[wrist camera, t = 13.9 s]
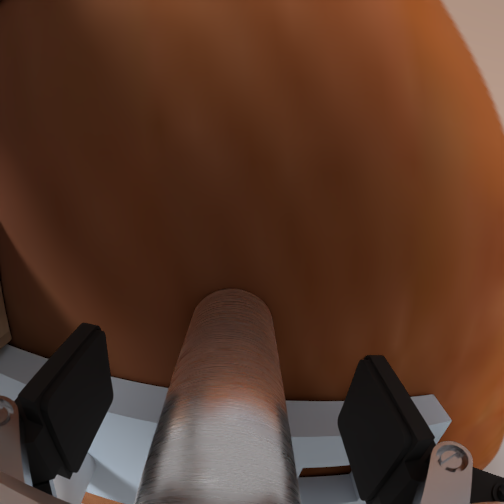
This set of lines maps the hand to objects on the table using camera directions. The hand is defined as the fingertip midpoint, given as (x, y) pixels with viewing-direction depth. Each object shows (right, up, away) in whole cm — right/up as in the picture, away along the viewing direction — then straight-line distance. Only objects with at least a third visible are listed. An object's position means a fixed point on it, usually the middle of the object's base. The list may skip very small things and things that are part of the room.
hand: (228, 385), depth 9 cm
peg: (0, +1, +4) cm, 4 cm away
